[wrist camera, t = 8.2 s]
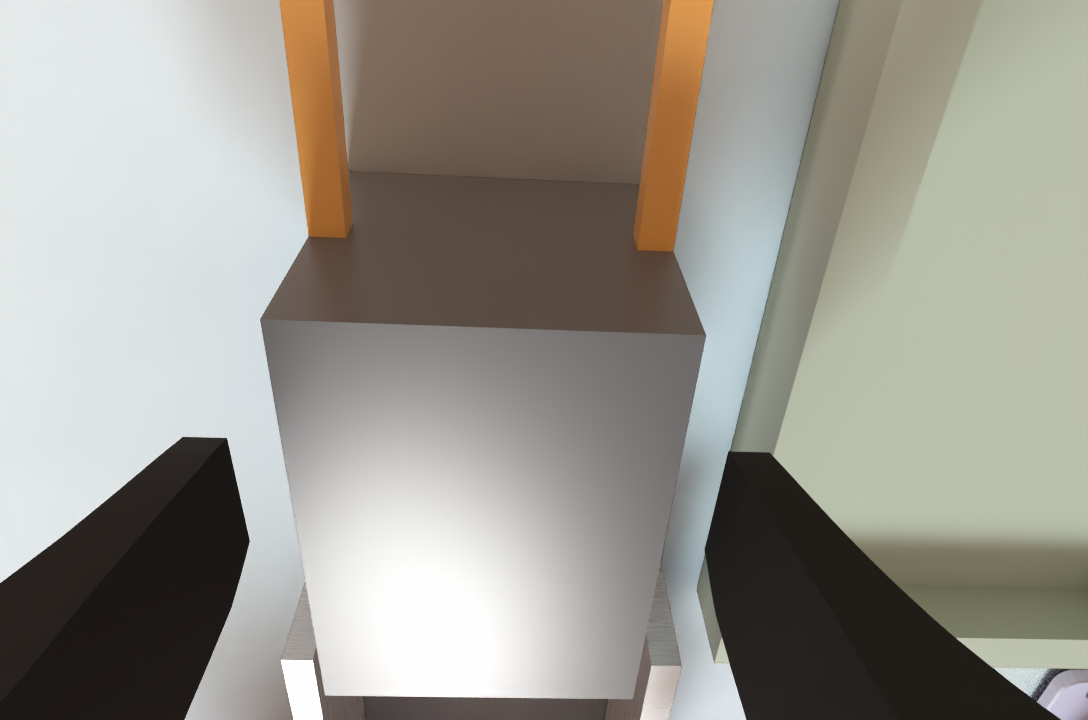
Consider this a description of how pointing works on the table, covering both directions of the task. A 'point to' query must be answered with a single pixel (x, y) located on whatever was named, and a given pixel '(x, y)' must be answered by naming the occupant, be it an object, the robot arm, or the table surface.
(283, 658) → the steel bay
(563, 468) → the orange handle block
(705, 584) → the green tray
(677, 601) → the table surface
